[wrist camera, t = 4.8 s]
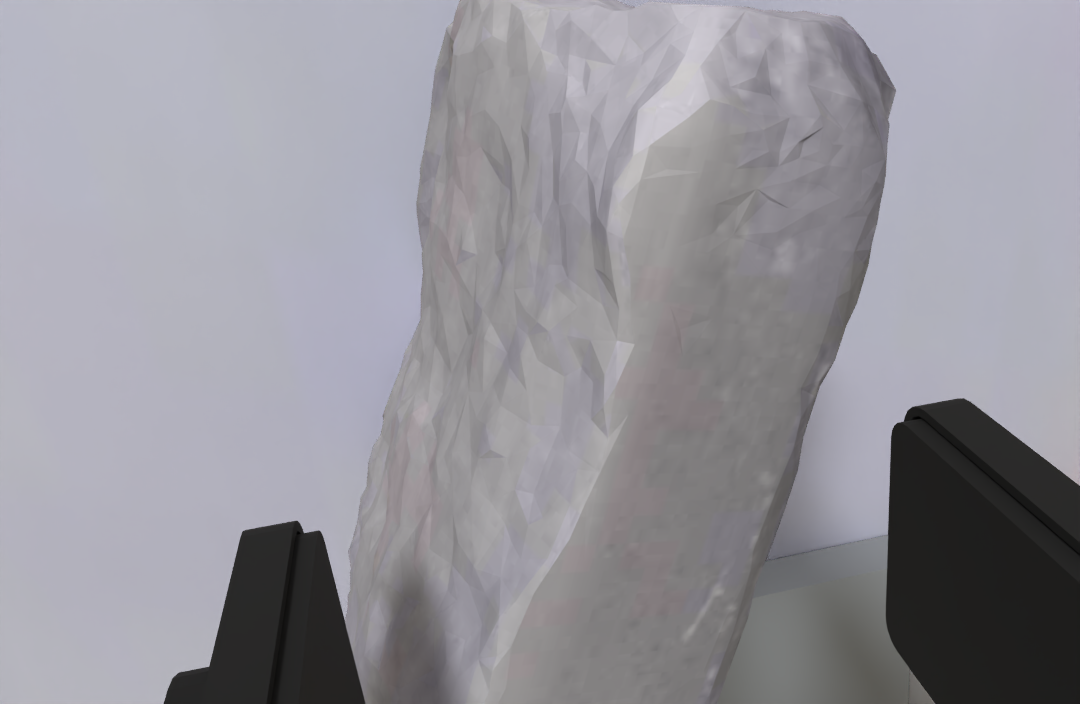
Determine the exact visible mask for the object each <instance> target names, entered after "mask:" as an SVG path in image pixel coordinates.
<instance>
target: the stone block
mask: <svg viewBox="0 0 1080 704" xmlns="http://www.w3.org/2000/svg"><path fill="white" fill-rule="evenodd" d="M895 92H896V89H895V87H894V85H893V84H892V82H891V80H890V78H889V76H888V75H887V73H886V71H885V69H884V67H883V66H882V64H881V62H880V60H879V59H878V57H877V55H876V54H874V53H872V52H871V51H870V50H869V48H868V46H867V45H866V43H865V42H864V40H863V39H862V38H861V37H860V35H859V34H858V33H857V32H856V31H855V30H854V29H853V28H852V27H851V26H850V25H849V24H848V23H847V22H846V21H845V20H844V19H843V18H842V17H840V16H833V15H827V14H820V13H813V12H807V11H799V12H784V11H776V10H766V11H763V10H759V9H755V8H750V7H739V6H720V5H698V4H680V3H662V2H647V3H645V4H642V5H640V6H638V7H634V6H630V5H626V4H623V3H621V2H619V1H617V0H460V2H459V4H458V7H457V10H456V13H455V17H454V21H453V22H452V23H451V24H450V25H449V26H448V27H447V29H446V33H445V36H444V40H443V44H442V48H441V51H440V55H439V58H438V61H437V65H436V68H435V74H434V83H433V92H432V103H431V114H430V119H429V125H428V130H427V136H426V141H425V146H424V152H423V157H422V162H421V167H420V182H419V189H418V197H417V218H418V225H419V233H420V241H421V246H422V251H423V252H422V264H423V278H422V288H421V319H420V322H419V324H418V326H417V329H416V331H415V333H414V335H413V337H412V340H411V342H410V344H409V346H408V348H407V349H406V351H405V353H404V357H403V361H402V365H401V369H400V372H399V374H398V377H397V379H396V382H395V384H394V387H393V389H392V392H391V394H390V397H389V400H388V402H387V405H386V408H385V411H384V414H383V420H384V421H383V426H382V431H381V435H380V437H379V438H378V440H377V441H376V443H375V444H374V446H373V449H372V452H371V456H370V459H369V463H368V476H367V487H366V489H365V491H364V493H363V494H362V496H361V500H360V507H359V514H358V521H357V525H356V528H355V532H354V536H353V540H352V543H351V546H350V548H349V550H348V554H349V560H350V566H351V570H350V592H349V594H348V608H347V614H346V619H345V624H346V628H347V632H348V636H349V640H350V644H351V648H352V652H353V656H354V660H355V664H356V668H357V672H358V676H359V680H360V684H361V687H362V691H363V695H364V699H365V703H366V704H717V702H718V699H719V697H720V694H721V691H722V689H723V686H724V684H725V681H726V678H727V675H728V672H729V669H730V666H731V663H732V661H733V658H734V655H735V652H736V649H737V647H738V644H739V641H740V639H741V636H742V633H743V630H744V628H745V625H746V622H747V619H748V616H749V612H750V608H751V604H752V599H753V595H754V591H755V587H756V583H757V580H758V578H759V575H760V573H761V571H762V568H763V566H764V563H765V561H766V559H767V556H768V554H769V551H770V549H771V546H772V543H773V540H774V537H775V535H776V532H777V529H778V526H779V524H780V521H781V518H782V515H783V513H784V510H785V507H786V504H787V501H788V498H789V495H790V492H791V489H792V486H793V483H794V480H795V477H796V474H797V471H798V465H799V459H800V453H801V447H802V441H803V436H804V433H805V430H806V427H807V424H808V421H809V418H810V414H811V411H812V408H813V405H814V402H815V399H816V396H817V393H818V390H819V387H820V385H821V383H822V382H823V380H824V378H825V376H826V375H827V373H828V371H829V369H830V368H831V366H832V364H833V362H834V361H835V358H836V355H837V352H838V349H839V346H840V343H841V340H842V337H843V334H844V331H845V328H846V325H847V323H848V321H849V319H850V317H851V314H852V312H853V310H854V308H855V306H856V304H857V301H858V297H859V294H860V291H861V287H862V284H863V281H864V277H865V274H866V271H867V267H868V264H869V258H870V252H871V246H872V241H873V237H874V233H875V229H876V225H877V220H878V214H879V208H880V202H881V198H882V193H883V188H884V182H885V176H886V158H887V142H888V133H889V122H888V118H889V114H890V110H891V107H892V103H893V100H894V96H895Z"/></svg>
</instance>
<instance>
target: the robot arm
mask: <svg viewBox="0 0 1080 704" xmlns="http://www.w3.org/2000/svg"><path fill="white" fill-rule="evenodd" d="M886 624H887V629H888V633H889V636H890V639H891V641H892V643H893V645H894V647H895V649H896V650H897V652H898V653H899V655H900V656H901V657H902V659H903V660H904V662H905V663H906V664H907V666H908V667H909V668H910V670H911V671H912V672H913V674H914V675H915V677H916V678H917V679H918V681H919V682H920V683H921V685H922V686H923V687H924V689H925V690H926V691H927V693H928V694H929V696H930V697H931V698H932V700H933V701H934V702H935V704H1080V486H1079V485H1078V484H1077V483H1075V482H1074V481H1073V480H1071V479H1070V478H1069V477H1067V476H1066V475H1065V474H1063V473H1062V472H1061V471H1060V470H1058V469H1057V468H1056V467H1054V466H1053V465H1052V464H1050V463H1049V462H1048V461H1047V460H1045V459H1044V458H1043V457H1041V456H1040V455H1039V454H1037V453H1036V452H1035V451H1034V450H1032V449H1031V448H1030V447H1028V446H1027V445H1026V444H1024V443H1023V442H1022V441H1021V440H1019V439H1018V438H1017V437H1015V436H1014V435H1013V434H1011V433H1010V432H1009V431H1008V430H1006V429H1005V428H1004V427H1002V426H1001V425H1000V424H998V423H997V422H996V421H994V420H993V419H992V418H991V417H989V416H988V415H987V414H985V413H984V412H983V411H981V410H980V409H979V408H978V407H976V406H975V405H974V404H972V403H971V402H969V401H967V400H966V399H964V398H963V399H953V400H948V401H942V402H937V403H932V404H926V405H921V406H915V407H912V408H911V409H909V410H908V411H907V414H906V416H905V419H904V422H900V423H897V424H896V425H895V426H894V428H893V430H892V436H891V462H890V493H889V524H888V555H887V586H886ZM164 704H366V703H365V699H364V695H363V691H362V687H361V684H360V680H359V676H358V672H357V668H356V664H355V660H354V656H353V652H352V648H351V644H350V640H349V636H348V632H347V628H346V624H345V620H344V616H343V613H342V609H341V605H340V601H339V597H338V593H337V589H336V585H335V581H334V577H333V573H332V569H331V565H330V561H329V557H328V553H327V549H326V545H325V542H324V538H323V536H322V533H321V532H320V531H314V532H309V533H304V532H303V529H302V527H301V525H300V523H299V522H298V521H292V522H287V523H282V524H276V525H271V526H265V527H260V528H255V529H249V530H245V531H243V532H242V535H241V538H240V542H239V546H238V550H237V554H236V558H235V563H234V567H233V571H232V575H231V579H230V583H229V587H228V592H227V596H226V600H225V604H224V608H223V612H222V617H221V621H220V625H219V629H218V633H217V637H216V641H215V646H214V650H213V654H212V658H211V662H210V666H209V667H206V668H201V669H195V670H190V671H185V672H180V673H178V674H177V675H176V676H175V677H174V678H173V679H172V681H171V684H170V686H169V688H168V691H167V694H166V698H165V701H164Z"/></svg>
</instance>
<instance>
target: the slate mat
mask: <svg viewBox="0 0 1080 704" xmlns="http://www.w3.org/2000/svg"><path fill="white" fill-rule="evenodd" d="M887 555H888V535H885V536H880V537H876V538H871V539H866V540H862V541H857V542H853V543H848V544H843V545H839V546H834V547H829V548H825V549H820V550H815V551H811V552H806V553H802V554H797V555H792V556H788V557H783V558H778V559H774V560H769V561H765V563H764V566H763V568H762V571H761V573H760V575H759V578H758V580H757V583H756V587H755V591H754V595H753V599H752V604H751V608H750V612H749V616H748V619H747V622H746V625H745V628H744V630H743V633H742V636H741V639H740V641H739V644H738V647H737V649H736V652H735V655H734V658H733V661H732V663H731V666H730V669H729V672H728V675H727V678H726V681H725V684H724V686H723V689H722V691H721V694H720V697H719V699H718V702H717V704H908V697H909V677H910V668H909V667H908V666H907V664H906V663H905V662H904V660H903V659H902V657H901V656H900V655H899V653H898V652H897V650H896V649H895V647H894V645H893V643H892V641H891V639H890V636H889V633H888V629H887V624H886V586H887Z"/></svg>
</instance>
